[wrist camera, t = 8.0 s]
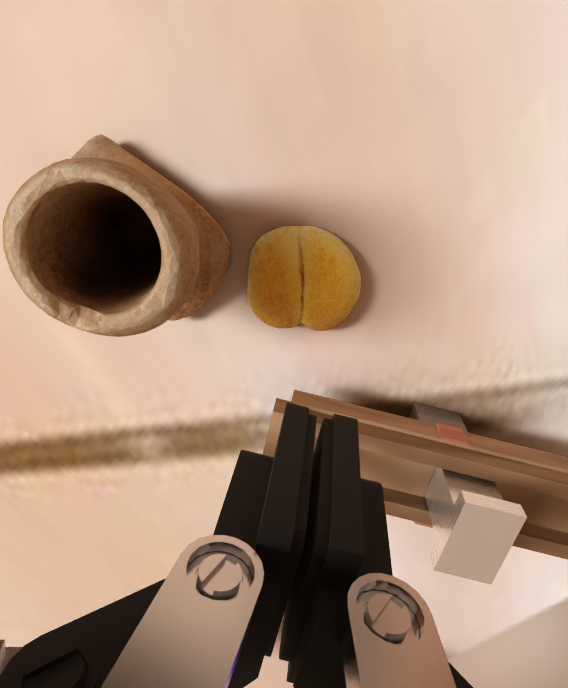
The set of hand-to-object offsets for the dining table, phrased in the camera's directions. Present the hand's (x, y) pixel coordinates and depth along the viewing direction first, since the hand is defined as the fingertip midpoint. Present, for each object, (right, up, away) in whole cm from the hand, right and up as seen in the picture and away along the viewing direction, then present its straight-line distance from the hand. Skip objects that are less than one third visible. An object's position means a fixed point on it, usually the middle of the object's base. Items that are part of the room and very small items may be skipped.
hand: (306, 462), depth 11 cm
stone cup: (-11, +13, +27) cm, 32 cm away
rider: (+13, -8, +26) cm, 30 cm away
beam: (+12, -5, +32) cm, 34 cm away
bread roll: (+1, +8, +28) cm, 29 cm away
